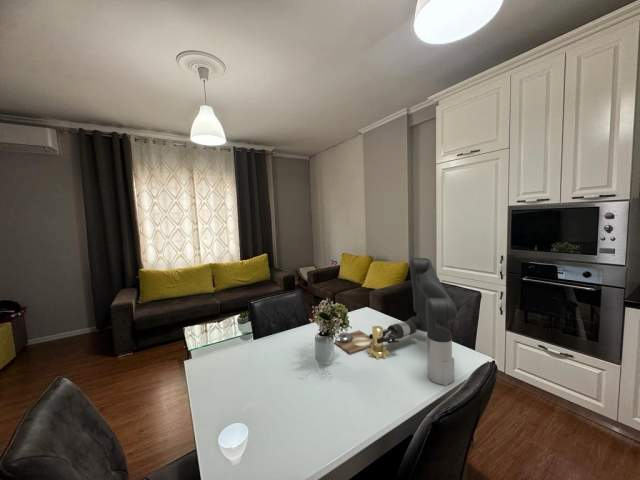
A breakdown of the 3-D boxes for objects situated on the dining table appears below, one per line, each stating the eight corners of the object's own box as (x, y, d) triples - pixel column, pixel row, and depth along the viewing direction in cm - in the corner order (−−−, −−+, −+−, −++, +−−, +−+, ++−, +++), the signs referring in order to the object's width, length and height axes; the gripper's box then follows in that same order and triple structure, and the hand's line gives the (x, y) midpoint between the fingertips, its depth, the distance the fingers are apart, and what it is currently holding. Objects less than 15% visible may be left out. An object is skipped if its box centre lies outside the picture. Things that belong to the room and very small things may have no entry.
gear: (355, 340, 139) (355, 334, 139) (342, 345, 134) (341, 338, 134) (345, 334, 147) (345, 328, 147) (332, 338, 143) (332, 331, 143)
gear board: (380, 344, 137) (380, 341, 137) (349, 354, 127) (349, 352, 127) (359, 332, 152) (359, 330, 152) (330, 340, 143) (330, 338, 142)
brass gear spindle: (392, 355, 125) (391, 328, 124) (377, 360, 120) (376, 333, 119) (378, 347, 133) (378, 322, 132) (364, 352, 128) (363, 326, 128)
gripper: (388, 319, 139) (363, 326, 131) (409, 328, 127) (383, 337, 118) (388, 333, 140) (364, 341, 131) (410, 343, 127) (384, 353, 119)
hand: (373, 339), depth 125 cm, fingers closed on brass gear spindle, 5 cm apart
